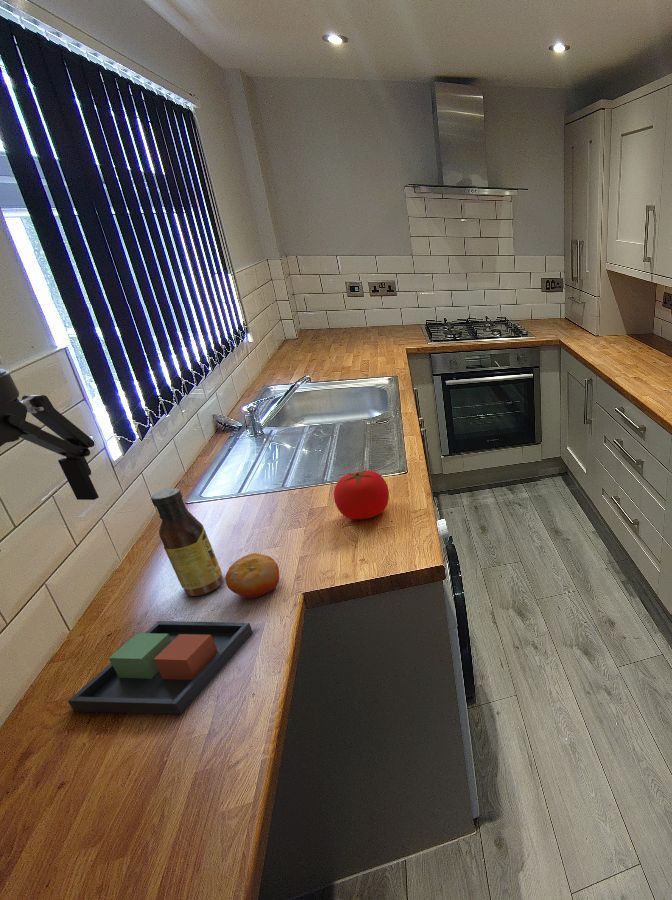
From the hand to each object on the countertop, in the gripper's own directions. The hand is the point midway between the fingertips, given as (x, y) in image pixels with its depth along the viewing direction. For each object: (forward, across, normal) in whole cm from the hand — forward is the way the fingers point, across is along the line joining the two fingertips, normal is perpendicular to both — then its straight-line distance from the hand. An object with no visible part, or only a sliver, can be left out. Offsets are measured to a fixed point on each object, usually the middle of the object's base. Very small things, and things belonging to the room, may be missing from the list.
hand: (42, 523), depth 72 cm
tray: (+25, -2, -11) cm, 27 cm away
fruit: (+25, +16, -13) cm, 32 cm away
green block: (+24, -2, -8) cm, 25 cm away
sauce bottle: (+25, +17, -2) cm, 30 cm away
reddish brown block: (+24, -2, -14) cm, 28 cm away
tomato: (+25, +43, -21) cm, 54 cm away
